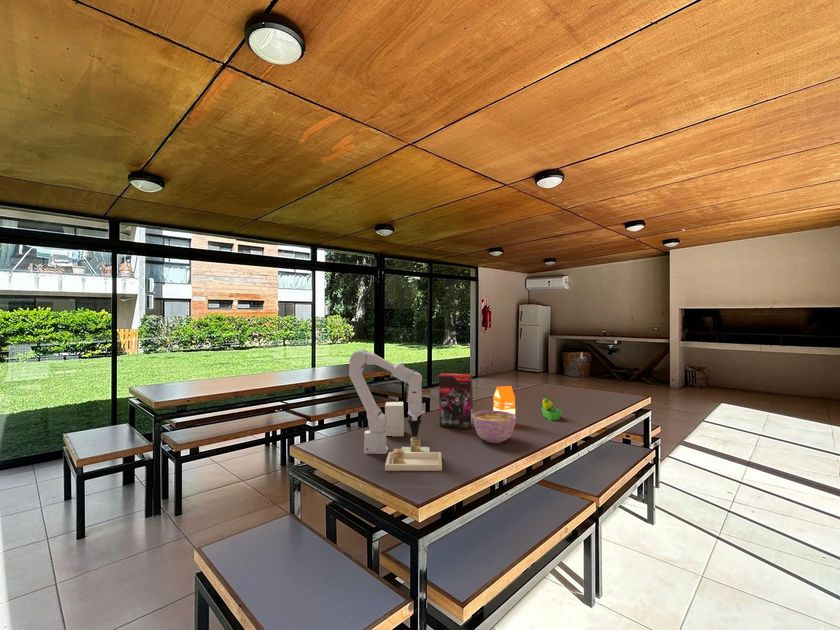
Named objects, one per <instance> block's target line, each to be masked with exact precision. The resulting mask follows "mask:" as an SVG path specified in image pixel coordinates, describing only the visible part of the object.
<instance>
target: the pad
mask: <svg viewBox="0 0 840 630" xmlns="http://www.w3.org/2000/svg"><path fill="white" fill-rule="evenodd" d="M401 449H404V452H411V446H401ZM420 452H431V451H430V446H420Z"/></svg>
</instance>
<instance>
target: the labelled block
mask: <svg viewBox="0 0 840 630" xmlns="http://www.w3.org/2000/svg"><path fill="white" fill-rule="evenodd" d="M410 447H411V452H420V447H421V437H411V438H410Z"/></svg>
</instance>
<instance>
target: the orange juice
mask: <svg viewBox="0 0 840 630" xmlns="http://www.w3.org/2000/svg"><path fill="white" fill-rule="evenodd" d="M492 408H493V411H504V412H509V413H512V414H514V415H515V416H516V396H515V393H514V390H513V388H512V385H504V386H496V389H495V391H494V394H493V407H492Z"/></svg>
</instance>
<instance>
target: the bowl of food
mask: <svg viewBox="0 0 840 630" xmlns="http://www.w3.org/2000/svg"><path fill="white" fill-rule="evenodd" d="M472 415H473V425H474V428H475V432H476V434H477V435H478V437H479V438H481V439H482V440H484V441H485V440H486V441H485V442H486V443H489V442H490V443H492V444H501V443H503V442H504V441H505V442H506V440H508V439H510V438H511V436H512V435H513V432H514V428H515V426H516V421H517V416H516V414H515V415H514V414H512V413H509V412H504V411H493V410H490V409H489V410H480V411H479V410H478V411H476V412H473V414H472Z"/></svg>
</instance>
